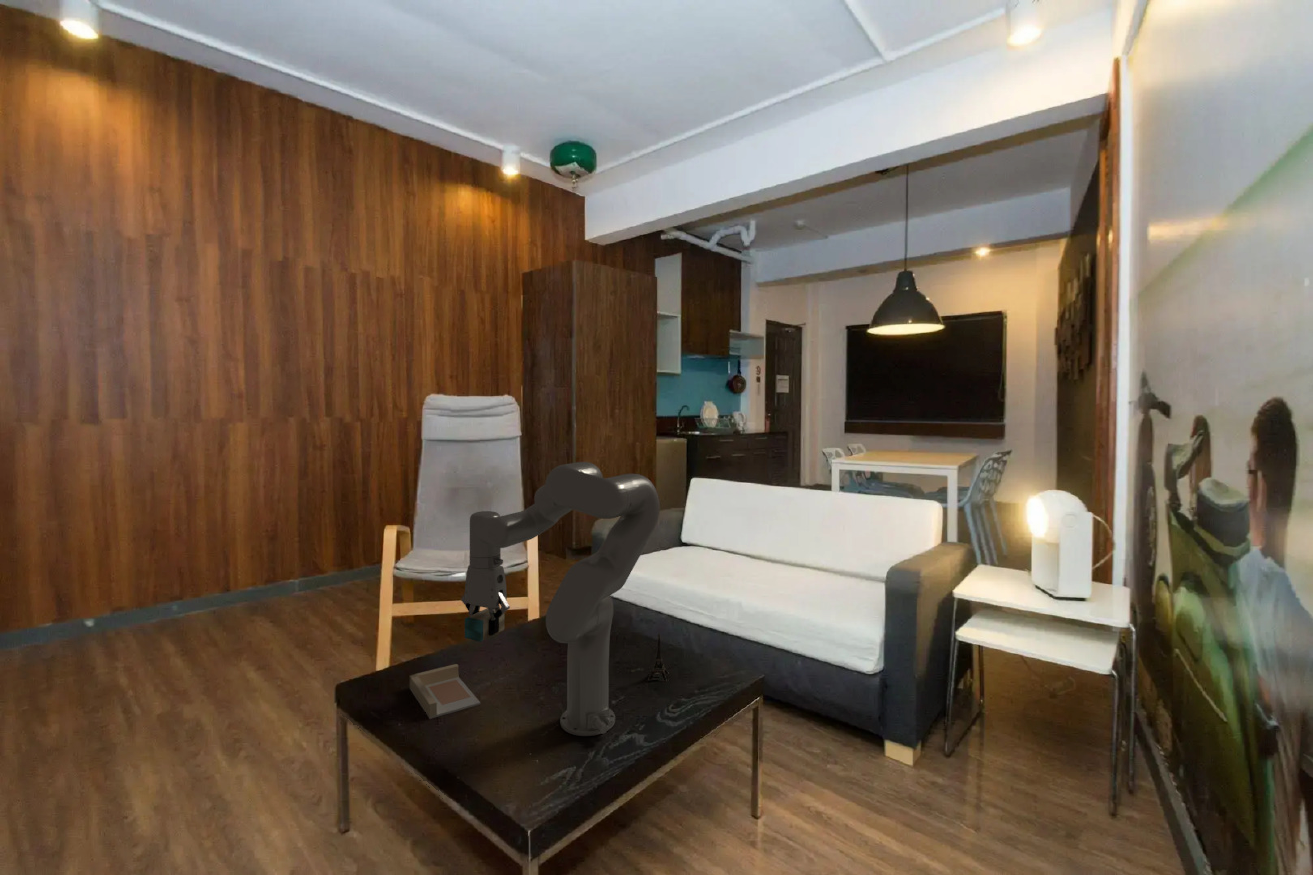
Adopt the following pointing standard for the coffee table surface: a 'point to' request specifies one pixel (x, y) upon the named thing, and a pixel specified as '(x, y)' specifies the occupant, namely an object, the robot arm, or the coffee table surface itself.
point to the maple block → (480, 625)
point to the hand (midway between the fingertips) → (484, 630)
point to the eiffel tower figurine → (657, 665)
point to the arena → (441, 691)
